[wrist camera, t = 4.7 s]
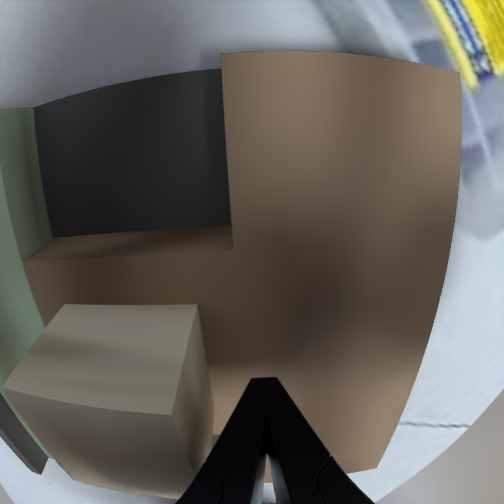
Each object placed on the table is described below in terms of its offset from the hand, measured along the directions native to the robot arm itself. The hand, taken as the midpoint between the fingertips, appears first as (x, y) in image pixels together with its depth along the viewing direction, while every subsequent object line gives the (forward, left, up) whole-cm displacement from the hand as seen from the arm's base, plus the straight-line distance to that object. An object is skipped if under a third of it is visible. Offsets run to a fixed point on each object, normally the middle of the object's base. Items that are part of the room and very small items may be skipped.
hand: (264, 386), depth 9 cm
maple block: (0, +4, -1) cm, 4 cm away
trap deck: (0, +4, -4) cm, 5 cm away
